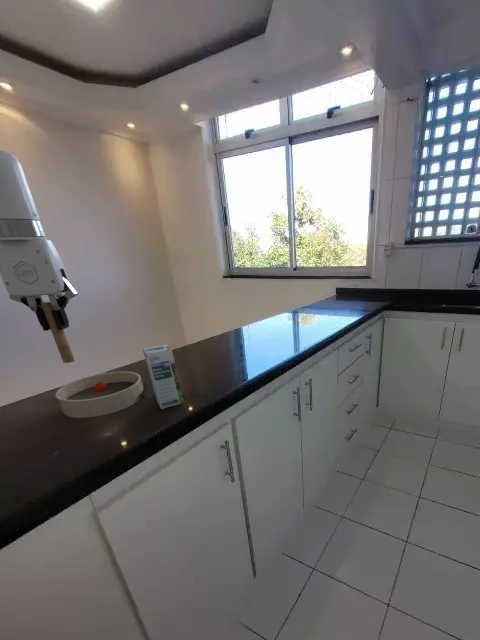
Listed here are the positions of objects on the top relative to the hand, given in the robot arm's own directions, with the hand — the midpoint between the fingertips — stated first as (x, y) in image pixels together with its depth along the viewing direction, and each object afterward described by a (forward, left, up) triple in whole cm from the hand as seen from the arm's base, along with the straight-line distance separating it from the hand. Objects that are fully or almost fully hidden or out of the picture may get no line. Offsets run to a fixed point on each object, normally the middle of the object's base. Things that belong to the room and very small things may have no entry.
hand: (56, 328), depth 67 cm
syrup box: (+19, +2, -21) cm, 28 cm away
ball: (-1, +11, -19) cm, 22 cm away
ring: (+1, +7, -21) cm, 22 cm away
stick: (0, 0, -8) cm, 8 cm away
